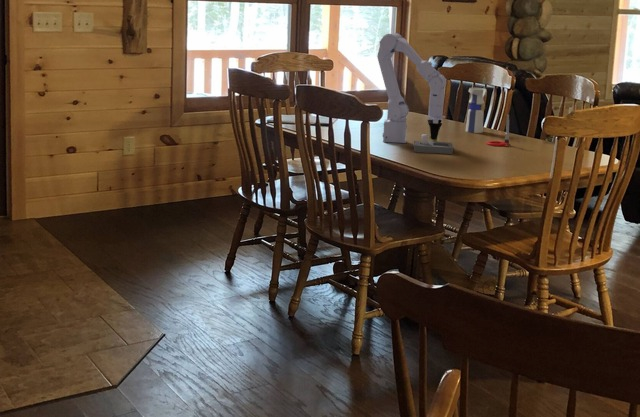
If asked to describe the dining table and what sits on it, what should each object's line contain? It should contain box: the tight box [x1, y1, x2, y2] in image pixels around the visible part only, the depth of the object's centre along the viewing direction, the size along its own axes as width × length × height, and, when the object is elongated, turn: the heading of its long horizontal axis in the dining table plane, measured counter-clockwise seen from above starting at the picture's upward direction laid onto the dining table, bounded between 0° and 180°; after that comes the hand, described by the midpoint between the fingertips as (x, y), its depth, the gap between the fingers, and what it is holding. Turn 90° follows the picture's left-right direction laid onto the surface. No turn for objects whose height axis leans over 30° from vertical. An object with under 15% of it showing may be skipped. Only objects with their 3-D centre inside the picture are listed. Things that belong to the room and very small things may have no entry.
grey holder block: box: [413, 134, 454, 155], centre depth 343 cm, size 15×11×6 cm
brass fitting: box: [427, 125, 441, 142], centre depth 353 cm, size 4×4×9 cm
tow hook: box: [485, 114, 510, 147], centre depth 360 cm, size 8×13×9 cm
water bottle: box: [465, 76, 488, 134], centre depth 389 cm, size 8×9×25 cm
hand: (433, 138), depth 354 cm, fingers closed on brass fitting, 4 cm apart
